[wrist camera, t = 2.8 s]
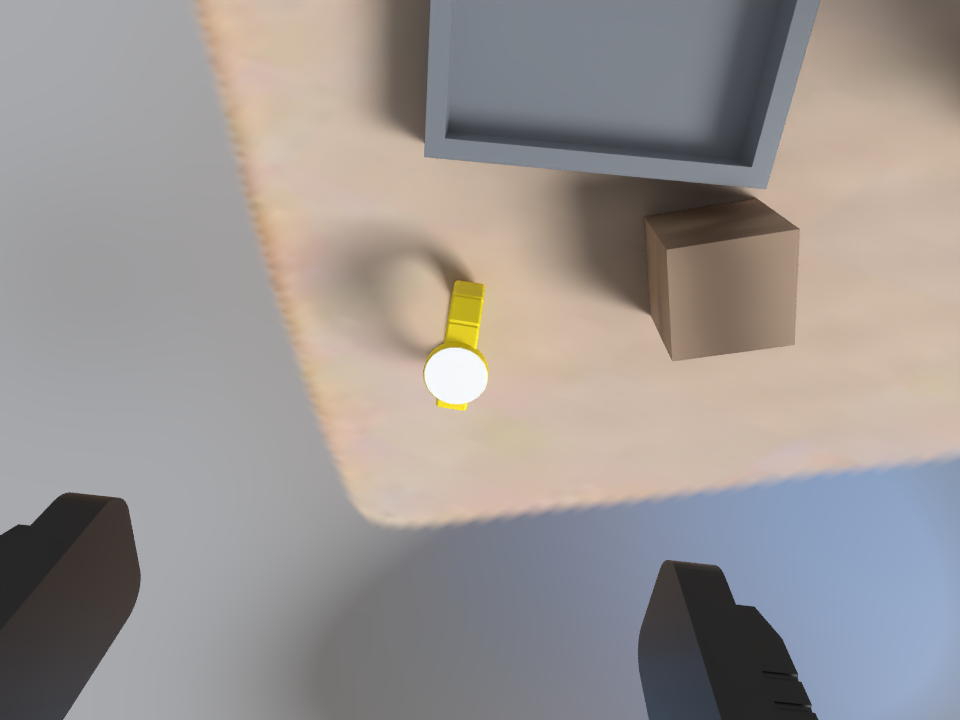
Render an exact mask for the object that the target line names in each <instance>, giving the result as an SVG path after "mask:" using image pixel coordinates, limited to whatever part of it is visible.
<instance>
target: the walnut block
mask: <svg viewBox="0 0 960 720" xmlns="http://www.w3.org/2000/svg"><path fill="white" fill-rule="evenodd" d="M644 222H645V237H646V252H647V267H648V282H649V297H650V312H651V317H652V319H653V321H654V323H655V326H656V328H657V330H658V332H659V334H660V336H661V338H662V340H663V343H664V345H665V347H666V349H667V351H668V353H669V355H670V357H671V360H672V361H678V360H686V359H693V358H701V357H708V356H716V355H723V354H731V353H738V352H745V351H753V350H760V349H768V348H775V347H783V346H790V345H794V343H795V320H796V298H797V276H798V253H799V231H800V229H799V228H797V227H796V226H795V225H793V224H792V223H790V222H789V221H788V220H786V219H785V218H783V217H782V216H781V215H779V214H778V213H776V212H775V211H774V210H772V209H771V208H769V207H768V206H767V205H765V204H764V203H762V202H761V201H760V200H758V199H757V198H756V199H750V200H744V201H738V202H732V203H725V204H719V205H713V206H707V207H701V208H695V209H688V210H682V211H676V212H670V213H664V214H658V215H652V216H645V217H644Z"/></svg>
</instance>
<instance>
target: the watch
mask: <svg viewBox="0 0 960 720" xmlns="http://www.w3.org/2000/svg"><path fill="white" fill-rule="evenodd" d="M484 292H485V286H484V284H479V283H472V282H466V281H460V280H457V281H455V284H454V288H453V293H452V298H451V303H450V309H449V315H448V321H447V322H448V323H447V327H446V333H445V340H444V344H441V345H439V346H438V347H436V348H435V349H433V350H432V352H431V353H430V354H429V356H428V357H427V360H426V363H425V366H424V370H423V376H424V382H425V384H426V387H427V389H428V390H429V391H430V392H431V394H432V395H433V396H434V397H436V398H437V400H436V405H437V406H438V407H443V408H450V409H457V410H463V411H464V410H466V408H467V403H468V402H471V401H473V400H474V399H476V398H477V397H479V396H480V395H481V393H482V392H483V391H484V390H485V387H486V385H487V382H488V365H487V362H486V359H485V357H484V356H483V355H482V353H481V352H480V351H479V350H478V349H477V341H478V335H479V327H480V321H481V314H482V307H483V300H484Z"/></svg>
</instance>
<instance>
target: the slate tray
mask: <svg viewBox="0 0 960 720" xmlns="http://www.w3.org/2000/svg"><path fill="white" fill-rule="evenodd" d="M819 3H820V0H431V2H430V26H429V51H428V76H427V100H426V125H425V149H424V157H429V158H440V159H450V160H461V161H472V162H482V163H493V164H504V165H514V166H525V167H536V168H546V169H557V170H567V171H578V172H589V173H599V174H610V175H621V176H631V177H642V178H653V179H663V180H674V181H685V182H695V183H706V184H716V185H727V186H738V187H748V188H759V189H766V188H767V184H768V181H769V177H770V174H771V170H772V167H773V163H774V160H775V156H776V153H777V149H778V146H779V142H780V139H781V135H782V132H783V128H784V125H785V121H786V118H787V114H788V111H789V107H790V104H791V100H792V97H793V93H794V90H795V86H796V83H797V79H798V76H799V72H800V69H801V65H802V62H803V59H804V55H805V52H806V48H807V45H808V41H809V38H810V34H811V31H812V27H813V24H814V20H815V17H816V13H817V10H818V6H819Z"/></svg>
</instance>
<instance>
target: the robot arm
mask: <svg viewBox="0 0 960 720" xmlns="http://www.w3.org/2000/svg"><path fill="white" fill-rule="evenodd" d="M140 576H141V575H140V568H139V562H138V557H137V552H136V546H135V541H134V535H133V530H132V525H131V519H130V515H129V509H128V506H127V504H126V502H125V501H124V500H123V499H121V498H116V497H107V496H97V495H88V494H79V493H70V492H69V493H65V494H62V495H61V496H59V497H58V498H57V499H56V500H55V501H53V503H52V504H51V505H50V506H49V507H48V508H47V509H46V510H45V511H44V512H43V513H42V514H41V515H40V516H39V517H38V518H37V519H36V520H35V521H34V523H33V524H31V526H28V525H17V526H15V527H13V528H12V529H10V530H9V531H7V532H5V533H4V534H2V535H0V720H63V719H64V717H65V716H66V714H67V713H68V711H69V710H70V708H71V707H72V705H73V703H74V702H75V700H76V699H77V697H78V696H79V694H80V693H81V691H82V689H83V688H84V686H85V685H86V683H87V682H88V680H89V679H90V677H91V675H92V674H93V672H94V671H95V669H96V668H97V666H98V664H99V663H100V661H101V660H102V658H103V657H104V655H105V654H106V652H107V650H108V649H109V647H110V646H111V644H112V643H113V641H114V639H115V638H116V636H117V635H118V633H119V632H120V630H121V628H122V627H123V625H124V624H125V622H126V620H127V619H128V618H129V616H130V614H131V612H132V610H133V607H134V605H135V603H136V600H137V597H138V593H139V588H140V578H141V577H140ZM638 663H639V672H640V677H641V682H642V687H643V692H644V697H645V702H646V707H647V712H648V717H649V720H818V718H817V716H816V714H815V713H812V710H811V706H812V705H811V702H810V700H809V698H808V696H807V693H806V692H805V689H804V687H803V684H802V682H799V681H798V673H797V671H796V669H795V667H794V665H793V662H792V660H791V658H790V655H789V653H788V651H787V649H786V646H785V644H784V642H783V640H782V638H781V637H780V636H779V635H778V633H777V632H776V631H775V630H774V629H773V628H772V627H771V625H770V624H769V623H768V622H767V621H766V620H765V619H764V617H763V616H762V615H761V614H760V613H759V611H758V610H757V609H756V608H755V607H752V606H743V605H736V604H735V601H734V599H733V596H732V593H731V591H730V589H729V586H728V583H727V581H726V578H725V576H724V574H723V572H722V570H721V569H720V568H719V567H718V566H716V565H708V564H698V563H690V562H681V561H672V560H666V561H665V562H664V563H663V564H662V566H661V568H660V571H659V574H658V577H657V580H656V583H655V586H654V589H653V593H652V595H651V598H650V602H649V605H648V608H647V611H646V614H645V617H644V620H643V623H642V626H641V630H640V635H639V643H638Z"/></svg>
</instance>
